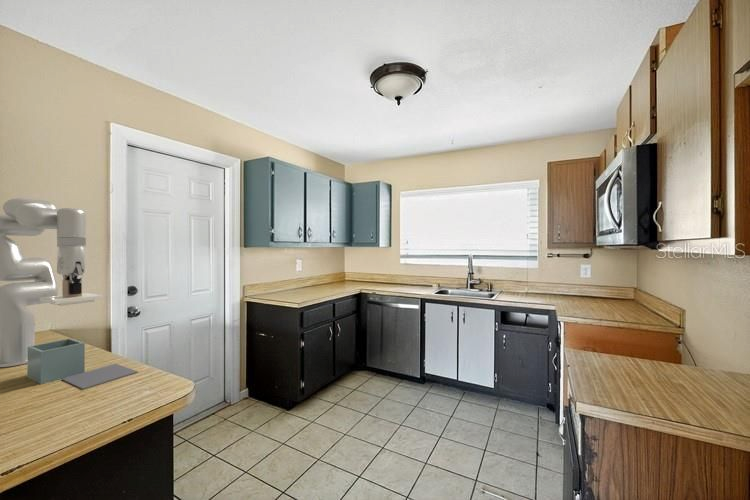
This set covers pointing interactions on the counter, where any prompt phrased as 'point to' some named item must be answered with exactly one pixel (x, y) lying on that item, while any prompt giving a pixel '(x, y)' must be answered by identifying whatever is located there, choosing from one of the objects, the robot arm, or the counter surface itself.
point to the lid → (70, 296)
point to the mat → (99, 376)
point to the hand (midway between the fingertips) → (72, 293)
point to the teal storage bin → (56, 360)
